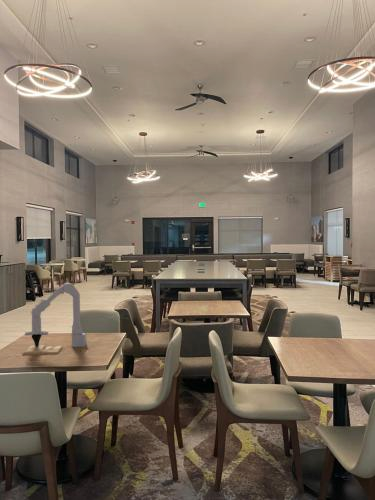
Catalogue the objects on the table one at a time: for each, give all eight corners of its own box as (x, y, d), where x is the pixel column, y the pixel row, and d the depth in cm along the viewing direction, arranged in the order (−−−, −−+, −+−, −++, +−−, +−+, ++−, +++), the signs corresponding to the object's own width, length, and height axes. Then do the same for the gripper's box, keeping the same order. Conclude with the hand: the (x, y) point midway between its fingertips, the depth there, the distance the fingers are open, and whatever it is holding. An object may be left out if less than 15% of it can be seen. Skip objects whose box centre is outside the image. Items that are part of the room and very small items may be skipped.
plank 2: (62, 347, 270) (62, 346, 270) (59, 350, 264) (59, 348, 264) (47, 348, 270) (47, 346, 270) (44, 351, 264) (44, 349, 264)
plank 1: (45, 346, 270) (45, 344, 269) (42, 351, 264) (42, 349, 263) (30, 346, 269) (30, 345, 269) (27, 351, 264) (27, 349, 263)
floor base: (63, 348, 271) (63, 346, 271) (57, 354, 257) (57, 352, 257) (30, 349, 271) (30, 346, 271) (22, 355, 256) (22, 353, 256)
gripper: (49, 324, 271) (49, 344, 272) (27, 324, 271) (28, 344, 272) (46, 326, 264) (46, 347, 265) (23, 326, 264) (24, 347, 265)
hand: (36, 345), depth 268 cm, fingers closed, pressing on plank 1
